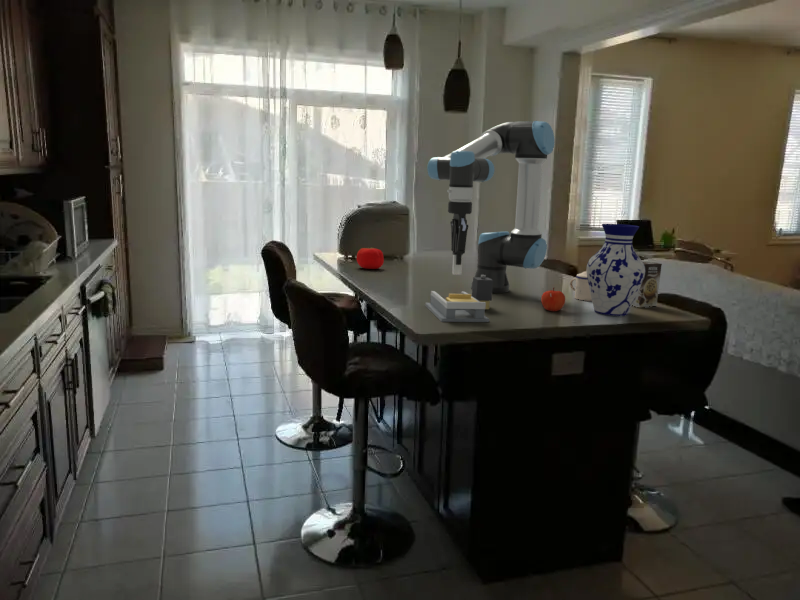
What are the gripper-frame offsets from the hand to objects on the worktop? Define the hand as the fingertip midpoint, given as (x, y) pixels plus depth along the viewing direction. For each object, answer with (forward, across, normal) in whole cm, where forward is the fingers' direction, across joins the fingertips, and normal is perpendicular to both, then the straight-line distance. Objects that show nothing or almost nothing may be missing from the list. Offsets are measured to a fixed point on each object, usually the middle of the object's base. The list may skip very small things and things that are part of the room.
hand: (456, 274), depth 208 cm
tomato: (+14, -94, -16) cm, 97 cm away
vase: (+14, 0, +55) cm, 57 cm away
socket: (+12, +4, -1) cm, 13 cm away
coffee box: (+15, -13, +74) cm, 77 cm away
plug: (+13, -6, +11) cm, 18 cm away
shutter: (+8, +10, -1) cm, 13 cm away
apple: (+13, -3, +35) cm, 38 cm away
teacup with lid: (+14, -26, +57) cm, 64 cm away
